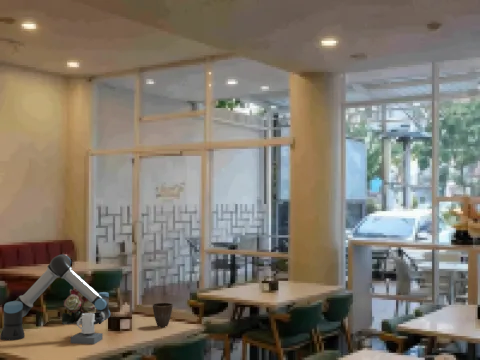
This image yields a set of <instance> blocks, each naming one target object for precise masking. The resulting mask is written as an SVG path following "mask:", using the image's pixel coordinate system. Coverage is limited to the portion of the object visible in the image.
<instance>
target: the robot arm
mask: <svg viewBox="0 0 480 360" xmlns="http://www.w3.org/2000/svg"><path fill="white" fill-rule="evenodd" d="M71 264H72V260H71V258H70V257H69V256H68V255H66V254H59V255H56V256H55V257H53V258H52V259H51V260H50V263H49V264H48V265H47V269H46V270H45V271H44V273H43V274H42V275H41V276H40V277H39V278H38V279H37V280H36V281H35V282H34V283H33V284H32V285H31V286H30V287H29V288H28V290H27V291H25V293H24V294H23V295H22V294H21V295H19V296H18V297H17V298H16V300H13V301H8V302H5V304H4V306H3V327H2V330H1V331H0V340H3V341H17V340H21V339H22V340H23V339H24V338H25V329H24V327H23V317H25V316H27V314H29V311H30V310H31V309H32V308H33V307H34V302H36V301H37V299H38V298H39V297H41V295H42V294H43V293H44V292H45V291H46V290H47V289H48V287H50V286H51V285H52V284H53V282H54V281H55V280H56V279H57V278H61V279H64V280H65V281H66V282H67V283H69V284H70V286H72V288H73V287H74V288H75V289H77V290H78V291H79V292H80V293H81V294H82V295H83V296H85V297H86V298H87V299H88V300H89V301H90V302H91V303H92V304H93V305H94V306H95V308H96V311H95V312H93V313H94V314H95V320H94V321H92V322H91V326H93V325H94V326H96V325H102V323H104V321H106V320H108V319H109V318H110V316H111V311H110V309H109V303H110V302H109V301H110V300H109V299H110V296H109V295H110V294H109V292H108V291H107V292H106V291H103V292H98V291H96V290H95V289H94V287H92V286H90V285H89V283H88V282H86V281H85V280H84V279H83V278H82V277H81V276H80V275H78V273H76V272H75V271H74V270H73V267H72V266H71ZM74 288H73V289H74ZM78 320H79V319H78ZM78 320H77V324H76V326H77V327H78ZM79 326H82V319H80V321H79Z"/></svg>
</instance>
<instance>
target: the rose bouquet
mask: <svg viewBox="0 0 480 360" xmlns="http://www.w3.org/2000/svg"><path fill="white" fill-rule="evenodd" d="M72 288H73V289H71V288H70V290H69V295H68V296H67V298H66V299H63V300H62V302H63V306H64V308H65V310H67V313H66V312H63V313H62V315H61V316H62V317H61V323H62V325H72V324H74V325H75V324H76V325H77V320H78V319H80V318H81V317H82V314H84V313H89V312H94V311H97V309H96V308H95V306H94V305H93V304H92V303H91V302H90V301H89V300H88V299H87V298H86V297H85V296H83V295H82V294H81V293H80V292H79V291H78V290H77V289H75V288H74V287H73V286H72Z"/></svg>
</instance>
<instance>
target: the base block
mask: <svg viewBox="0 0 480 360" xmlns="http://www.w3.org/2000/svg"><path fill="white" fill-rule="evenodd" d="M81 332H82V331H80V332H78V333H76V334H74V335H72V336H70V344H77V345H80V344H82V345H95V344H97V343H100V342H101V341H102V340H103V333H102V332H101V333H99V332H94V333H90V334H83V333H81Z"/></svg>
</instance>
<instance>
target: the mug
mask: <svg viewBox="0 0 480 360" xmlns="http://www.w3.org/2000/svg"><path fill="white" fill-rule="evenodd" d="M94 313H95V312H88V313H83V314H82V315H81V316H82V317H81V318H80V319H82V324H81V325H79V321H80V319H79V320H78V326H77V327H78V328H79V329H80V330H81V331H80V332H81V333H83V334H90V333H96V331H95V325H93V326H91V322H92V321H94V320H95V314H94Z"/></svg>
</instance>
